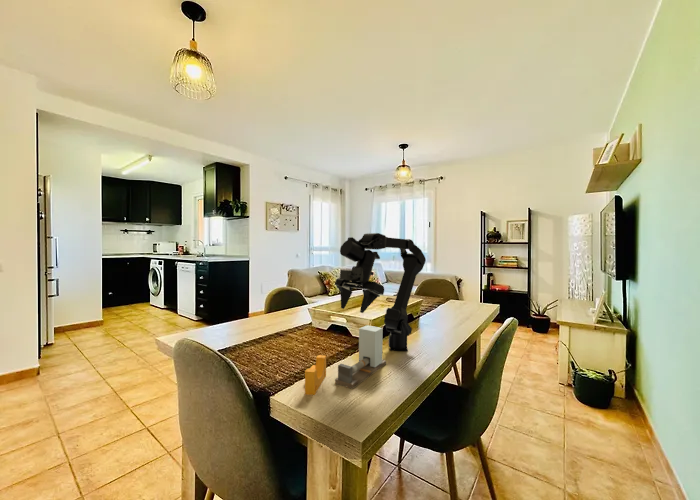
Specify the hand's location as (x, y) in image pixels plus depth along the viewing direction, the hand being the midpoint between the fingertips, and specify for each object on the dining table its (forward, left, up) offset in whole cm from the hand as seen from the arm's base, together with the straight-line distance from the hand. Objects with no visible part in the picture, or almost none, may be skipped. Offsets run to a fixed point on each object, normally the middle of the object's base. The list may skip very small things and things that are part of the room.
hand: (351, 310), depth 100 cm
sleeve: (-7, +1, -17) cm, 18 cm away
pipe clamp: (+10, +14, -19) cm, 26 cm away
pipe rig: (-4, +6, -18) cm, 20 cm away
